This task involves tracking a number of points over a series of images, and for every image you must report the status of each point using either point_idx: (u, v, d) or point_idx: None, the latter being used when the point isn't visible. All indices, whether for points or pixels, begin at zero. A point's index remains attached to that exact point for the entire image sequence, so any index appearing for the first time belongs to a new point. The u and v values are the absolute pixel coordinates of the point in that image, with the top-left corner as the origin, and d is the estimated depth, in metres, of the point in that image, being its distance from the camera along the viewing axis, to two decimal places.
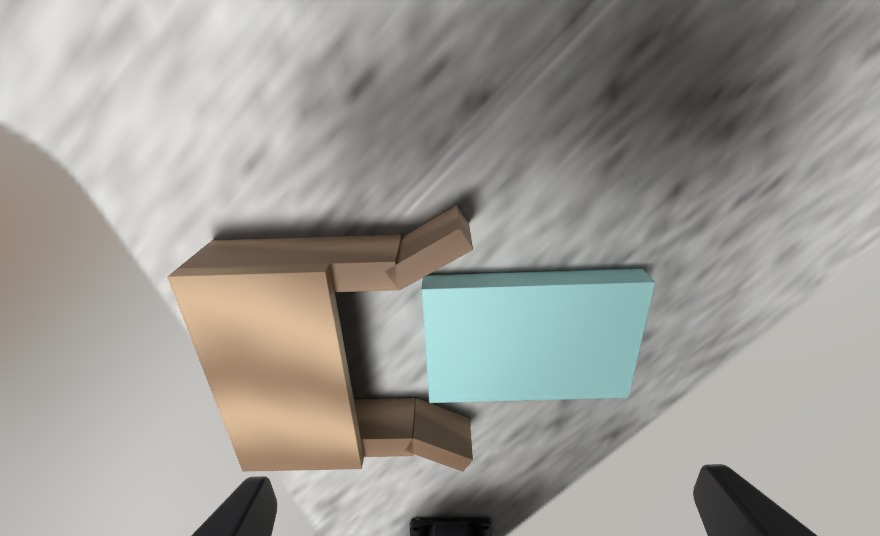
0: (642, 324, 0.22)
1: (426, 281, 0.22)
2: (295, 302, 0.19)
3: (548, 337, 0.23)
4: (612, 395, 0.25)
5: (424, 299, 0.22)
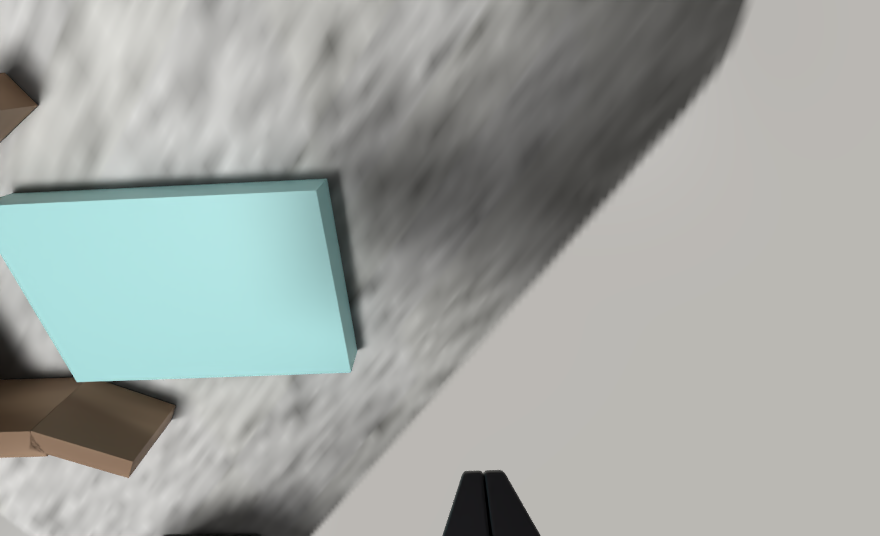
0: (325, 260, 0.15)
1: None
2: None
3: (196, 281, 0.16)
4: (327, 369, 0.18)
5: None
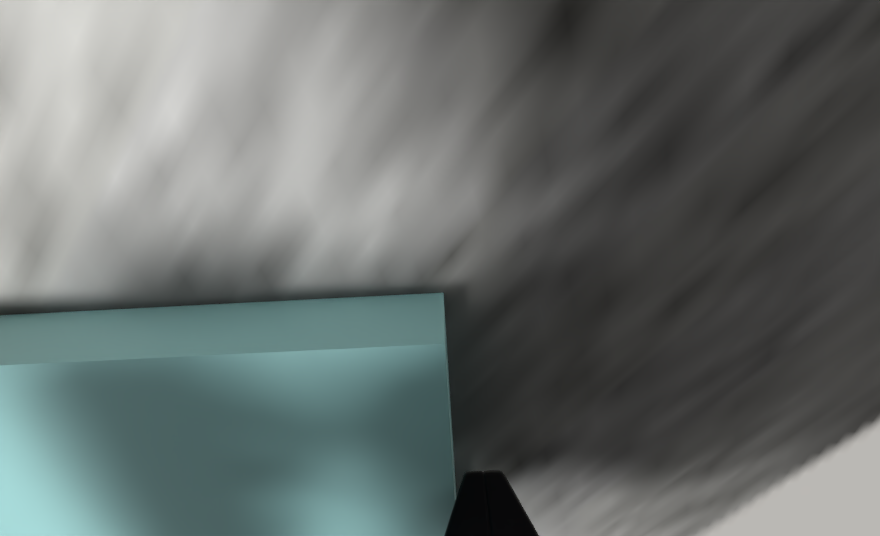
0: (443, 459, 0.08)
1: None
2: None
3: (187, 494, 0.08)
4: None
5: None
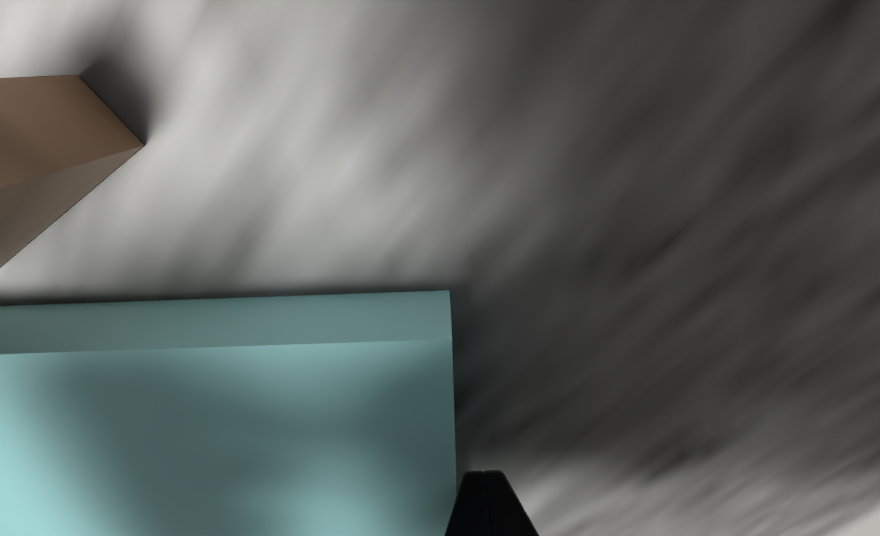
0: (447, 455, 0.08)
1: None
2: None
3: (188, 487, 0.08)
4: None
5: None
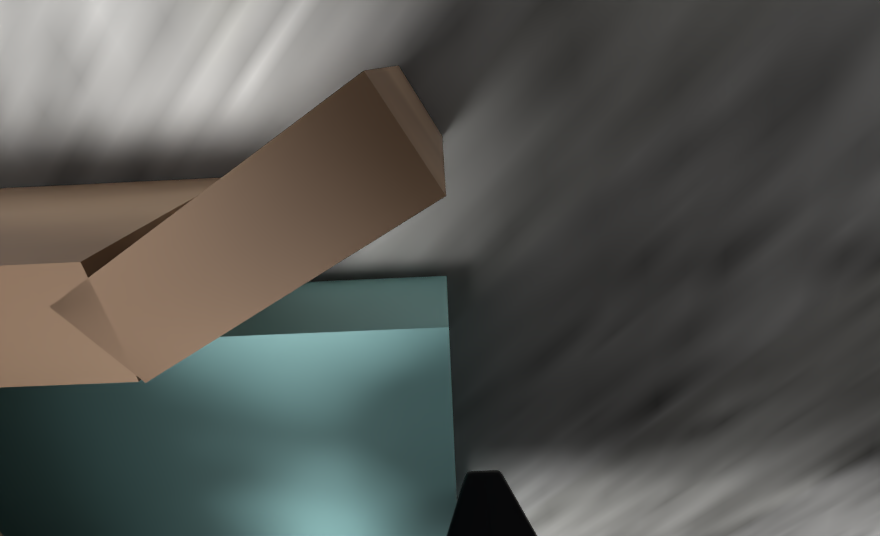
0: (445, 448, 0.07)
1: None
2: None
3: (181, 482, 0.08)
4: None
5: None
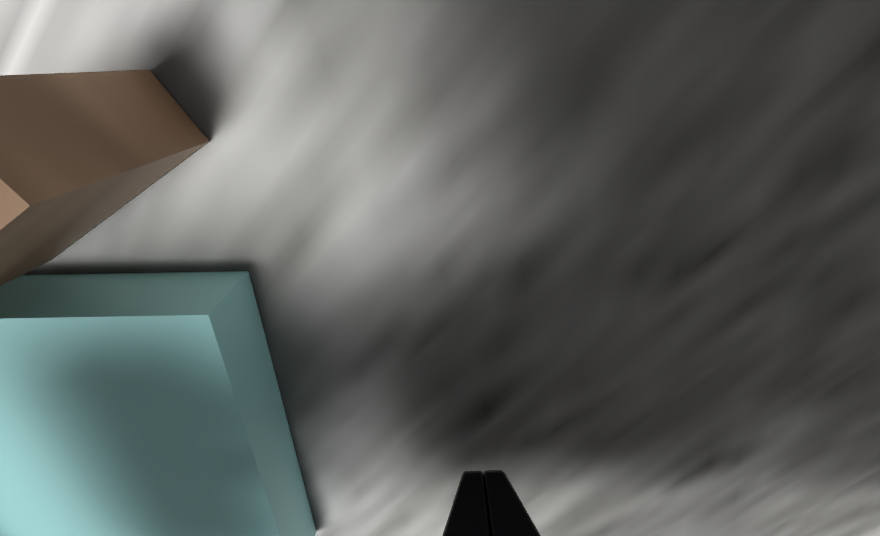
0: (239, 436, 0.08)
1: None
2: None
3: None
4: None
5: None
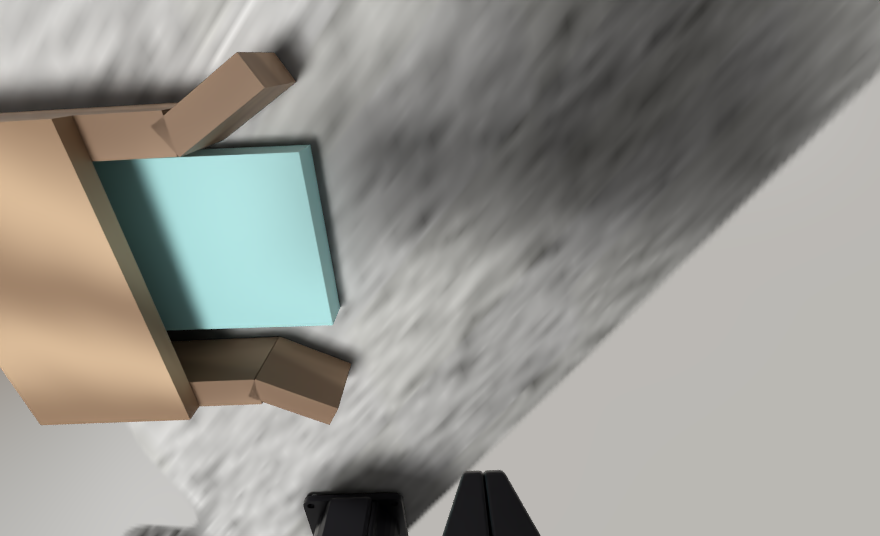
0: (307, 217, 0.17)
1: None
2: (26, 170, 0.14)
3: (192, 237, 0.17)
4: (311, 322, 0.19)
5: None
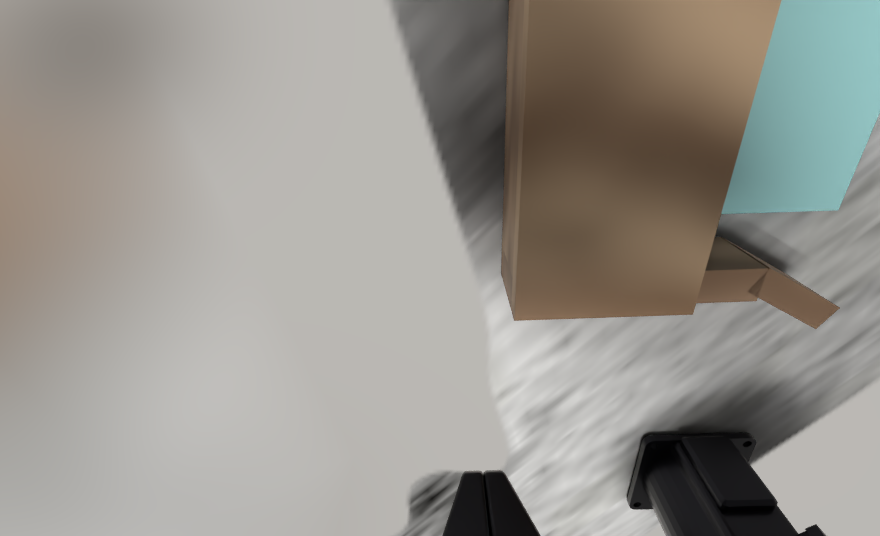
0: None
1: None
2: None
3: None
4: (815, 206, 0.17)
5: None
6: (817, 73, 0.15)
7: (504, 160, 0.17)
